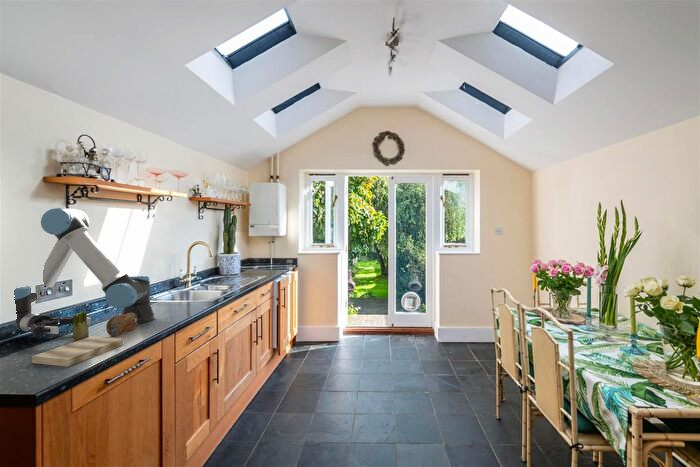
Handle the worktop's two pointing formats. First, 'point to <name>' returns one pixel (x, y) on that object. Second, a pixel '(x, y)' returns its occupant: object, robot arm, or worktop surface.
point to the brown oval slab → (122, 324)
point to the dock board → (77, 351)
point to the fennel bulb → (80, 326)
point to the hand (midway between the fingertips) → (74, 325)
